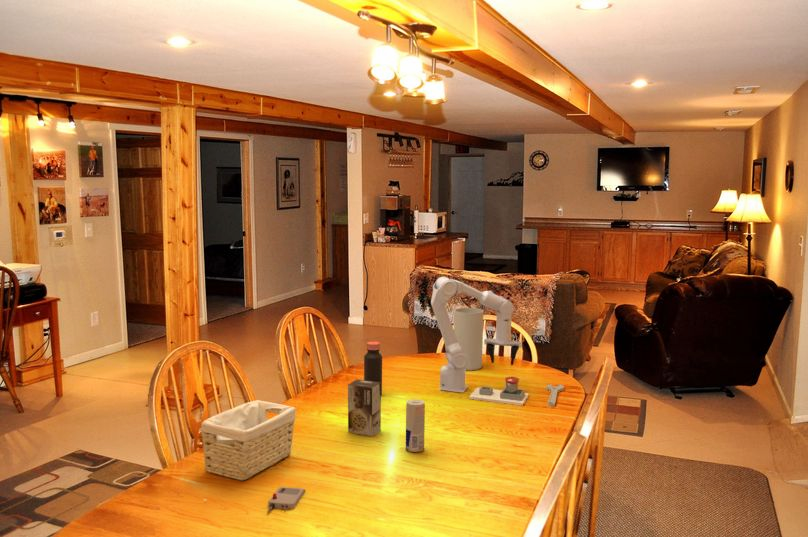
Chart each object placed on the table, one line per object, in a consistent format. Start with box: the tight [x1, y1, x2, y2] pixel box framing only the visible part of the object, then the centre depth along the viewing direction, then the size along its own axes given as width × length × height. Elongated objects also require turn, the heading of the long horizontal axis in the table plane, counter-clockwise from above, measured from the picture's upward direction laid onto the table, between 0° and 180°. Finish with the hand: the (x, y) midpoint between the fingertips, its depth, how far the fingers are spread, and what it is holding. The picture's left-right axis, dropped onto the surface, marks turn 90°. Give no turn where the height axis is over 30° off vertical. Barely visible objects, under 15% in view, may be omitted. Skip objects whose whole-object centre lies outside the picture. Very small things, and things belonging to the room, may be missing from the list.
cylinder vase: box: [453, 307, 484, 371], centre depth 298 cm, size 12×12×25 cm
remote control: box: [267, 486, 306, 513], centre depth 173 cm, size 7×16×3 cm, turn 171°
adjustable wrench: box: [545, 383, 565, 408], centre depth 261 cm, size 25×6×2 cm, turn 159°
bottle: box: [363, 341, 383, 396], centre depth 258 cm, size 7×7×20 cm
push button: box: [504, 376, 520, 395], centre depth 255 cm, size 5×5×7 cm
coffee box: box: [347, 378, 382, 437], centre depth 221 cm, size 9×6×16 cm
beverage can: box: [405, 398, 426, 453], centre depth 206 cm, size 6×6×15 cm
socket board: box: [468, 385, 530, 407], centre depth 258 cm, size 20×12×3 cm, turn 70°
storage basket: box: [200, 399, 296, 481], centre depth 195 cm, size 24×16×15 cm
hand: (502, 363), depth 271 cm, fingers open, 7 cm apart
